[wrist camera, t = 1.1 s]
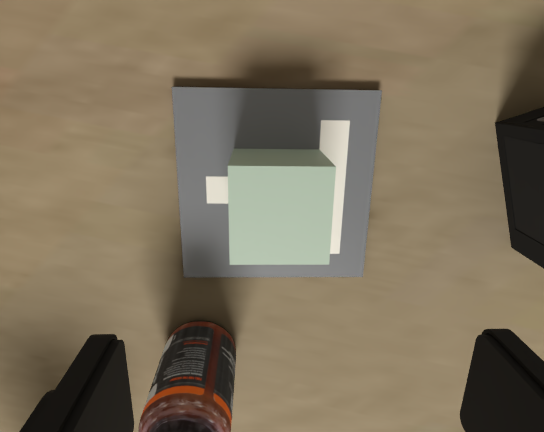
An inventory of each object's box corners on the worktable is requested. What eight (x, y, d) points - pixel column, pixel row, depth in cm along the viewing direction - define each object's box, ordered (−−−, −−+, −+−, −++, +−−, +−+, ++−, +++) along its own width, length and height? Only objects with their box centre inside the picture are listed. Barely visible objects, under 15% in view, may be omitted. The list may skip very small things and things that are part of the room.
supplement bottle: (151, 338, 32) (100, 464, 22) (211, 305, 32) (187, 418, 21) (193, 386, 34) (164, 524, 24) (250, 356, 33) (247, 484, 23)
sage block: (319, 149, 27) (336, 166, 22) (314, 229, 29) (329, 264, 23) (233, 148, 27) (227, 165, 21) (234, 229, 29) (229, 264, 23)
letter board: (379, 90, 27) (381, 90, 26) (360, 273, 31) (362, 276, 31) (173, 86, 26) (171, 86, 26) (185, 273, 31) (183, 277, 30)
